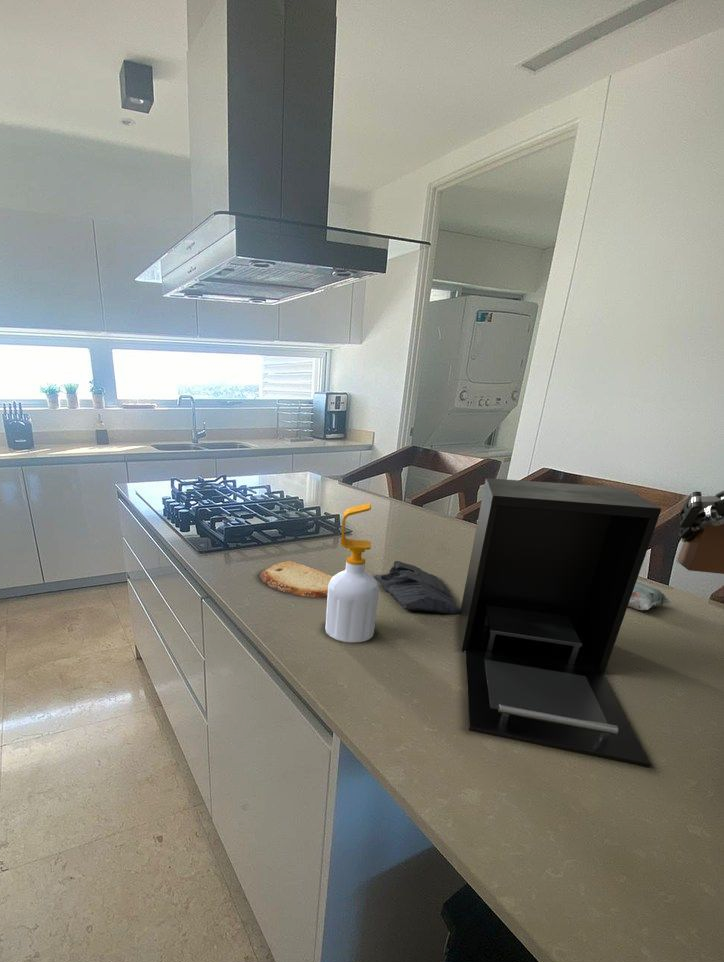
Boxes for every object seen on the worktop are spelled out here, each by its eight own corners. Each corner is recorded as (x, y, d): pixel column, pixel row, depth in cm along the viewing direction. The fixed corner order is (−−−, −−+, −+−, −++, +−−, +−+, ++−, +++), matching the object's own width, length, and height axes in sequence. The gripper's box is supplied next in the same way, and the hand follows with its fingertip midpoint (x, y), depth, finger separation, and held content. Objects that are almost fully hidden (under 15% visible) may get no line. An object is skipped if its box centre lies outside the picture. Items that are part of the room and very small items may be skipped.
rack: (562, 635, 90) (568, 616, 89) (575, 665, 81) (582, 644, 79) (482, 623, 94) (486, 605, 93) (485, 650, 85) (490, 630, 83)
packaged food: (645, 619, 100) (653, 597, 98) (588, 598, 109) (594, 577, 107) (667, 611, 103) (675, 590, 101) (610, 592, 113) (617, 572, 111)
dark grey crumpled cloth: (392, 616, 99) (395, 595, 97) (372, 577, 119) (374, 558, 117) (467, 618, 99) (472, 596, 97) (435, 578, 119) (438, 559, 117)
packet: (717, 565, 77) (737, 515, 74) (731, 574, 73) (753, 522, 70) (676, 561, 79) (694, 512, 75) (688, 570, 75) (708, 519, 71)
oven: (580, 634, 93) (625, 487, 82) (652, 772, 60) (746, 558, 48) (459, 616, 99) (486, 478, 88) (464, 733, 66) (508, 534, 55)
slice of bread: (349, 598, 107) (350, 582, 105) (268, 602, 104) (268, 586, 103) (328, 569, 123) (329, 555, 121) (258, 572, 120) (258, 558, 119)
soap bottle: (373, 647, 87) (389, 512, 77) (323, 642, 89) (332, 509, 79) (373, 625, 95) (387, 500, 85) (327, 620, 97) (335, 497, 87)
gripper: (857, 451, 60) (761, 522, 75) (717, 445, 64) (652, 514, 79) (868, 503, 57) (766, 565, 73) (721, 494, 61) (654, 555, 77)
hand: (707, 538), depth 76 cm, fingers closed on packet, 5 cm apart
